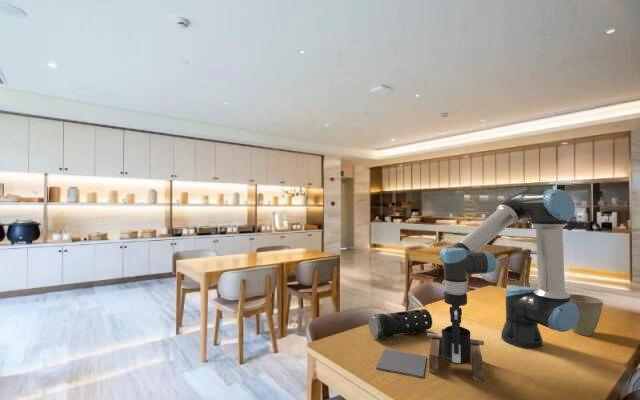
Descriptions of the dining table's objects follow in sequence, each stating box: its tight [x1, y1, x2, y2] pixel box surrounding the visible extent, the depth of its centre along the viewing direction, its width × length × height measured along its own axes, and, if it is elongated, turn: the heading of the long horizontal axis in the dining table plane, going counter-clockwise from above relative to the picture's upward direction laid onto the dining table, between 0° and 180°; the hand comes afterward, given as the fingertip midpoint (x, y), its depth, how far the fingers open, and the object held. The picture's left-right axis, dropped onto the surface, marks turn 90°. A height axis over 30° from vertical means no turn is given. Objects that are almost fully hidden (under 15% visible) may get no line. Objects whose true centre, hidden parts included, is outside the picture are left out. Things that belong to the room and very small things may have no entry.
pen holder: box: [441, 325, 471, 365], centre depth 116 cm, size 9×9×10 cm
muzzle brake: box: [368, 308, 433, 339], centre depth 147 cm, size 10×28×10 cm, turn 111°
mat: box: [375, 348, 427, 379], centre depth 121 cm, size 16×16×1 cm
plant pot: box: [568, 293, 604, 337], centre depth 152 cm, size 15×15×16 cm
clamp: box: [426, 332, 485, 383], centre depth 120 cm, size 20×17×8 cm
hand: (456, 355), depth 116 cm, fingers closed on pen holder, 9 cm apart
